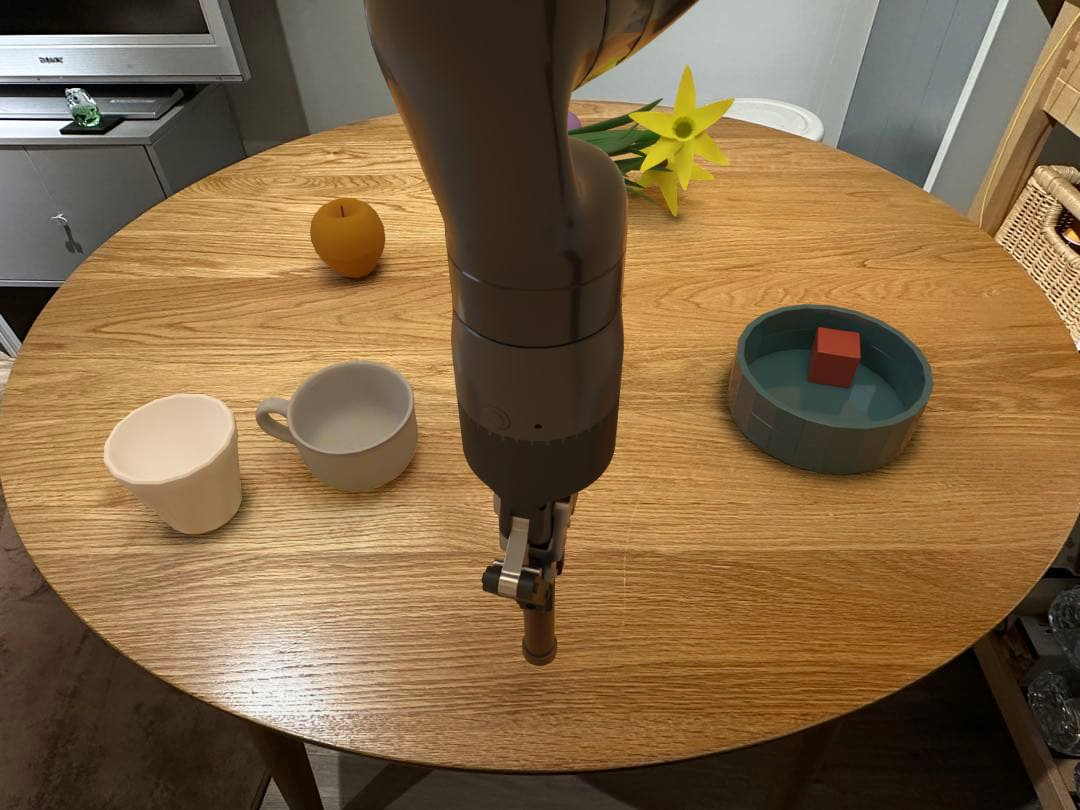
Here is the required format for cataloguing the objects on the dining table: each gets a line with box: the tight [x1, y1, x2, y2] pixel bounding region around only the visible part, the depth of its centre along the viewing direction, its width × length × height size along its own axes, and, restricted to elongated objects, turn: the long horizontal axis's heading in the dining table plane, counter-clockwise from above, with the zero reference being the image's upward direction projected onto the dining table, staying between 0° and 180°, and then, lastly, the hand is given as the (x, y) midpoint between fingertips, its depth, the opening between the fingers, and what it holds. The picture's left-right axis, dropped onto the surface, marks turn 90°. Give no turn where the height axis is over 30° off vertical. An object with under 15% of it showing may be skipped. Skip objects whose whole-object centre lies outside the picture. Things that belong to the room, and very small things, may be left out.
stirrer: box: [521, 556, 558, 667], centre depth 48 cm, size 2×2×13 cm
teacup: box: [255, 359, 419, 493], centre depth 68 cm, size 14×11×8 cm
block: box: [808, 327, 861, 388], centre depth 77 cm, size 4×4×4 cm
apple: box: [309, 197, 386, 279], centre depth 90 cm, size 8×8×9 cm
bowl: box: [726, 303, 935, 475], centre depth 73 cm, size 17×18×6 cm
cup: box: [103, 393, 243, 536], centre depth 64 cm, size 10×10×9 cm
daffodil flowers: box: [568, 64, 736, 217], centre depth 99 cm, size 17×15×35 cm
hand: (540, 585), depth 47 cm, fingers closed on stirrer, 2 cm apart
